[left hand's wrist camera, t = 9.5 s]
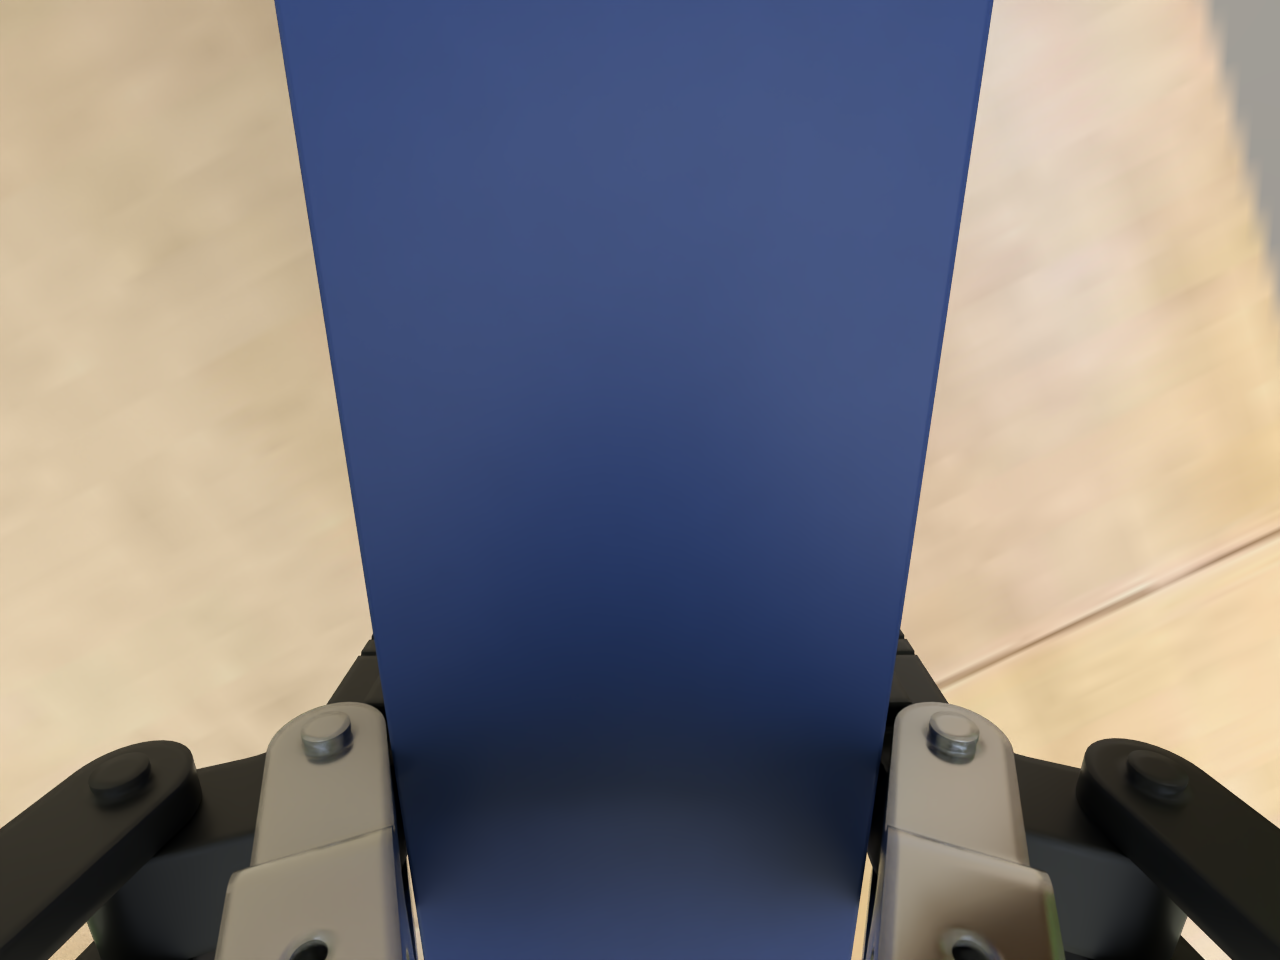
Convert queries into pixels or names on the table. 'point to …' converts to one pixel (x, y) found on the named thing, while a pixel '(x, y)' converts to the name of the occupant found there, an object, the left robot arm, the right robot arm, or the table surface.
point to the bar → (635, 439)
